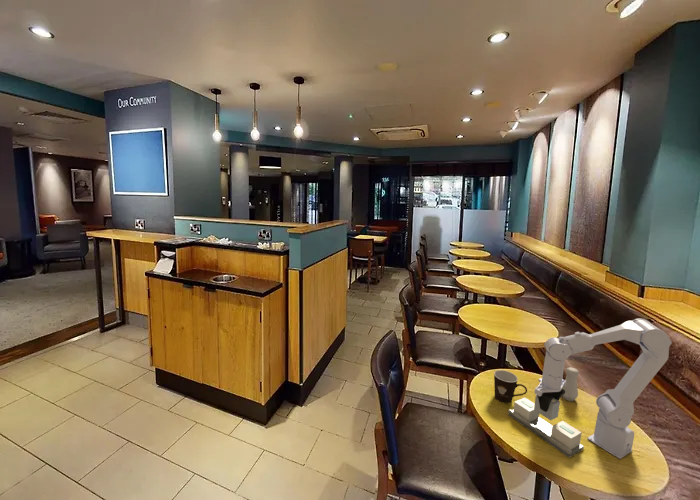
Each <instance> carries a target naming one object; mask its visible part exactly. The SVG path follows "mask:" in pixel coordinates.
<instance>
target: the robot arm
mask: <svg viewBox="0 0 700 500" xmlns="http://www.w3.org/2000/svg"><path fill="white" fill-rule="evenodd" d="M617 341H618V342H619V341H628V342H630V343H633V344H635V345H639V346H640V349H641V351H642V352H641V353H640V354H639V356H638V358H637V359H636V360H635V361H634V362H633V364H632V365H631V367H629V369H628V370H627V372H626V373H625V374H624V375H623V377H622V378H621V380H620V381H619V382H618V383H617V384H616V385H615V388H613V389H607V390H605V392H604V393H602V394H600V395H598V396H597V398H596V400H595V402H596V405H597V407H598V412H597V416H596V420H595V421H596V422H595V426H594V432H593V434H591V435H589V436H588V437H587V440H589V441H590V442H592V443H594V444H595V445H597V446H598V447H600V448H602V449H603V450H605V451H606V452H608V453H609V454H610V455H612V456H614V457H615V458H618V460H621V459H622V458H624V457H626V456H628V455H629V454H630V453H631V452H633V444H634V440H635V431H633V430H632V429H631V428H629V426H630V425H631V423H632V417H633V415H634V414H635V407H634V402H635V401H636V399H638V397H639V396H640V395H641V393H643V391H644V389H646V387H647V386H648V385H649V384H650V382H652V379H653V378H654V377H655V376H656V375H657V374H658V372H659V371H660V370H661V368H662V367H663V366H664V365H665V363H666V362H667V361H668V359H669V357H670V356H669V355H670V352H669V351H670V346H671V345H672V342H673V341H672V339H670V337H669V335H668V334H667V332H665V331H664V330H662V329H660V328H658V327H657V326H655V325H654V324H653V323H652V322H650V321H649V320H647V319H645V318H635V319H632V320H627V321H624V322H622V323H621V324H619V325H615V326H612V327H609V328H606V329H602V330H600V331H596V332H593V333H589V334H588V333H586V332H583V331H582V332H580V331H576V332H574V334H571V335H567V336H559V337H550V338H548V339H547V340H546V341H545V342H544V343H543V345H544V348H545V349H546V350H545V356H544V363H543V370H542V375H541V378H538V382H539V384H538V385H537V387H535V388H534V391H533V392H534V394H535V396H536V395H537V396H538V399H539V405H540V409H541V410H543V411H545V412H547V411H548V408H549V405H550V402H551V401H552V399H553V398H555V399H556V400H558V401H560V399H561V398H563V395H564V394H565V390H564V389H562V388H563V386H566V381H565V379H563V378H564V370H565V361H566V360H567V359H568V358H569V357H571V356H572V355H575V354H578V353H584V352H588V351H592V350H593V349H594V347H595V346H597V345H602V344H607V343H613V342H617Z"/></svg>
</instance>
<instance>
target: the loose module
mask: <svg viewBox="0 0 700 500" xmlns="http://www.w3.org/2000/svg"><path fill="white" fill-rule="evenodd" d="M534 403H535V406H534V410H535V411H537V412H538V413H539V415H541V416H543V417H544V418H546V419H548V420H549V421H553V420H554V419H555V420H556V419H557V418H558V417H559V412H560V404H561V401H560V400H559V401H558V400H556V399H555V398H553V399H552V401H551V402H550V405H549V408H548V411H547V412H545V411H543V410H541V409H540V405H539V399H538V396H537V395H536V394H535V400H534Z"/></svg>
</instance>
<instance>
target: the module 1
mask: <svg viewBox="0 0 700 500" xmlns="http://www.w3.org/2000/svg"><path fill="white" fill-rule="evenodd" d="M534 406H535V402H533V401H531V400H530V399H528V398H527V397H522V398H520V399H518V400H515V401H514V403H513V409H512V410H513V411H514V412H515V413H517V414H518V415H520V416H521V417H523V418H524V419H526V420H527V421H529V422H531V421H533V420H535V419H537V418H539V417H540V413H538V412H537V411H535V410H534Z"/></svg>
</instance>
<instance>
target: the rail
mask: <svg viewBox="0 0 700 500" xmlns="http://www.w3.org/2000/svg"><path fill="white" fill-rule="evenodd" d="M507 410H508V411H507V416H509V417H510V418H511V419H513V420H515V421H516V422H517V423H519V425H522V426H523V427H524V428H525V429H527V430H528V431H530V432H531V433H533V434H535V436H538V437H539V438H540V439H542V440H543V441H545V443H548V445H550V446H551V447H553V448H554V449H556V450H557V451H559V452H560V453H562V454H563V455H564V456H565V457H567V458H568V459H569V458H572V457H574V456H575V455H576V454H578V453H580V452H581V451H583V450H584V448H585V446H584V445H583V444H581V443H580V445H578V446H576V447H575V448H573V449H571V450H570V449H568V448H567V447H565V446H564V445H562V444H561V443H559V442H558V441H556V440H555V439H553V438H552V437H551V430H552V426H553V425H552V424H550V423H549V422H547V421H546V420H545V419H543V418H541V417H540V416H539V418H537V419H535V420H533V421H531V422H529V421H527V420H526V419H524V418H523V417H521V416H520V415H518V414H517V413H515V412H514V411H513V410H514V409H511V408H509V409H507Z"/></svg>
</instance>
